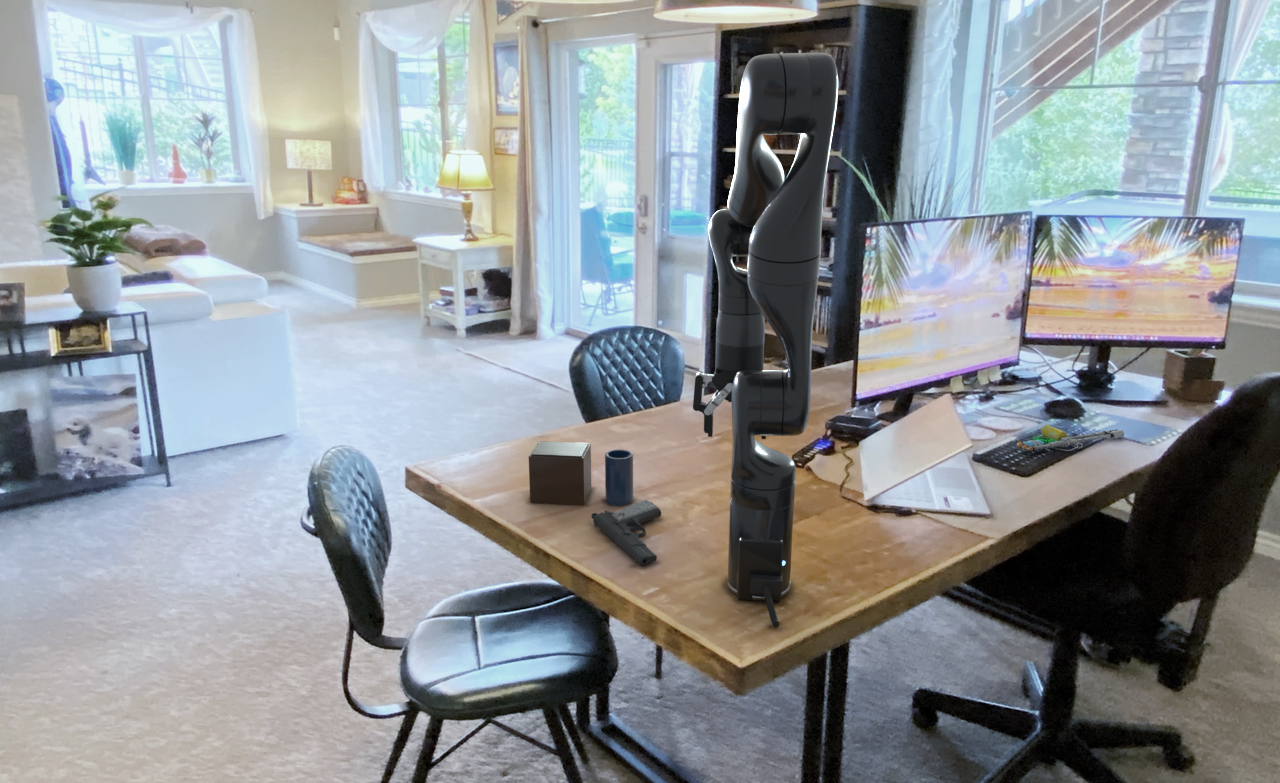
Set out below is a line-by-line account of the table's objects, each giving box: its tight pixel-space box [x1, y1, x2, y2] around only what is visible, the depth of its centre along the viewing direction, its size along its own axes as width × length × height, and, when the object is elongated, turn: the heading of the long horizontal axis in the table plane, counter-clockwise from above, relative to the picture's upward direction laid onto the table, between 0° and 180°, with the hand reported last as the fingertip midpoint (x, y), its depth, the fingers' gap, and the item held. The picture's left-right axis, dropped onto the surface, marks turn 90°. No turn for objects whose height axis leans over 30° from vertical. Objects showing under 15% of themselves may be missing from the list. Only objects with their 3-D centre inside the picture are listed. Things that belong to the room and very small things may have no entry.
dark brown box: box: [528, 440, 592, 506], centre depth 170 cm, size 8×10×9 cm
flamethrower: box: [1016, 424, 1125, 452], centre depth 200 cm, size 29×3×10 cm
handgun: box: [590, 499, 662, 566], centre depth 154 cm, size 19×2×12 cm
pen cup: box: [604, 448, 634, 507], centre depth 168 cm, size 5×5×9 cm
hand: (737, 436), depth 149 cm, fingers open, 8 cm apart
